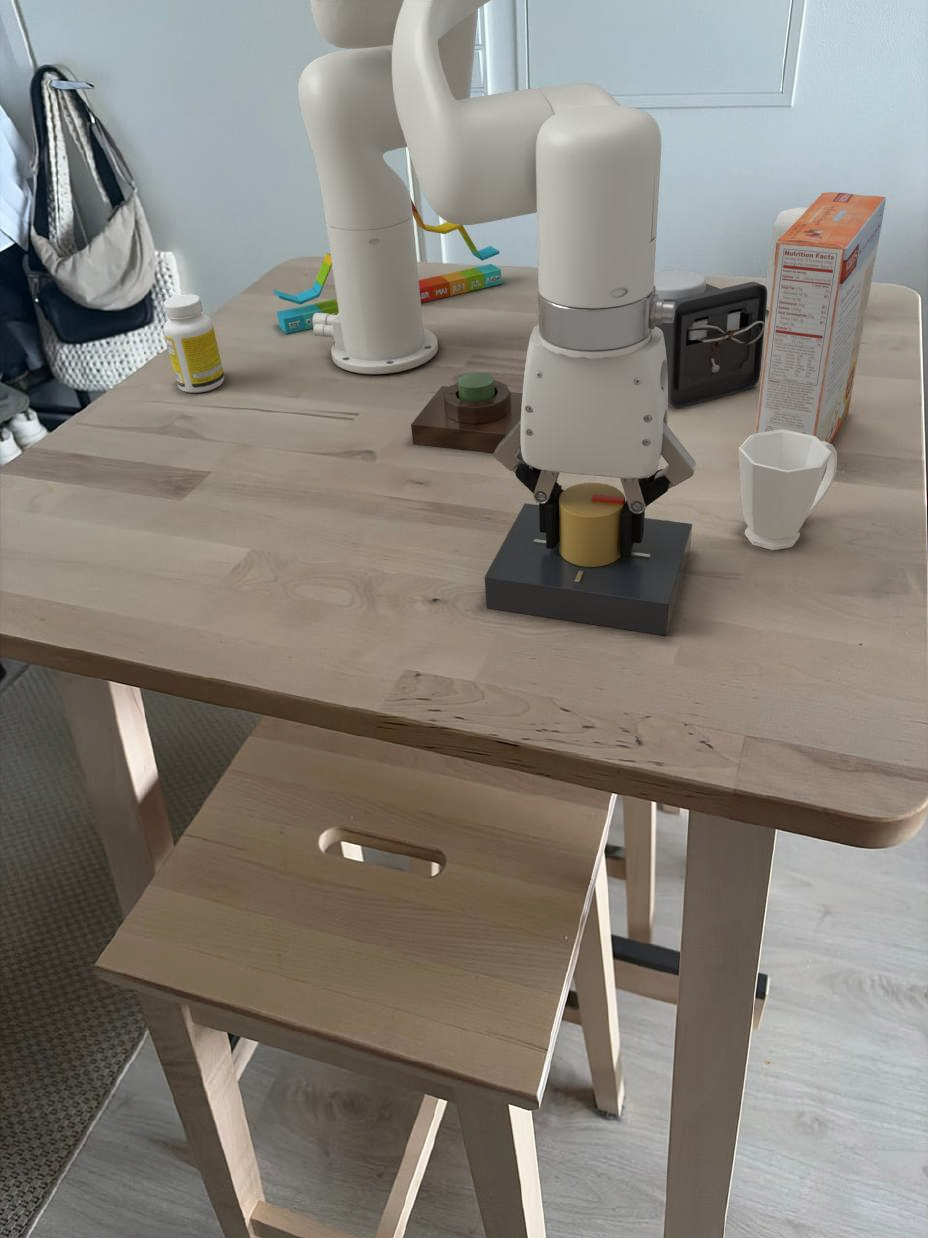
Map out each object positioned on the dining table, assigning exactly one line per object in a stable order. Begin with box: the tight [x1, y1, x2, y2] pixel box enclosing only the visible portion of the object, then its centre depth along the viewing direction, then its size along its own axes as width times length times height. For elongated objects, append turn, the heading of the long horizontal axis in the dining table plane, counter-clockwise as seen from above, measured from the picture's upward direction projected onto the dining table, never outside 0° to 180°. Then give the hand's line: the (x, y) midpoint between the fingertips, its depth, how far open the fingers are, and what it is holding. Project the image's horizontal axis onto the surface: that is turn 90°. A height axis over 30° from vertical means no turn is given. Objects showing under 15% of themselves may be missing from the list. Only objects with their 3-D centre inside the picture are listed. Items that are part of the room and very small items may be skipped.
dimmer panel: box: [484, 503, 693, 636], centre depth 79 cm, size 14×11×3 cm
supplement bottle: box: [162, 293, 225, 394], centre depth 112 cm, size 5×5×10 cm
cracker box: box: [754, 191, 887, 445], centre depth 89 cm, size 14×6×21 cm, turn 150°
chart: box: [272, 198, 502, 335], centre depth 126 cm, size 30×3×15 cm, turn 115°
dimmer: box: [559, 482, 626, 567], centre depth 76 cm, size 5×5×5 cm
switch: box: [457, 371, 495, 402], centre depth 99 cm, size 4×4×2 cm
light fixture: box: [654, 269, 767, 409], centre depth 105 cm, size 11×13×11 cm
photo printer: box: [764, 206, 810, 312], centre depth 115 cm, size 10×4×12 cm, turn 32°
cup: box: [738, 429, 838, 551], centre depth 81 cm, size 7×10×8 cm
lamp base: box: [410, 379, 523, 454], centre depth 100 cm, size 11×9×4 cm
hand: (591, 541), depth 77 cm, fingers closed on dimmer, 5 cm apart
